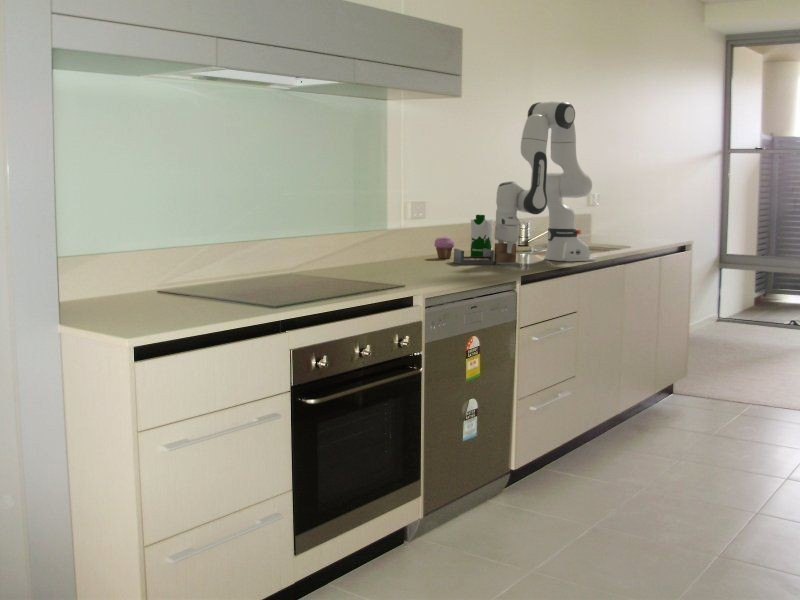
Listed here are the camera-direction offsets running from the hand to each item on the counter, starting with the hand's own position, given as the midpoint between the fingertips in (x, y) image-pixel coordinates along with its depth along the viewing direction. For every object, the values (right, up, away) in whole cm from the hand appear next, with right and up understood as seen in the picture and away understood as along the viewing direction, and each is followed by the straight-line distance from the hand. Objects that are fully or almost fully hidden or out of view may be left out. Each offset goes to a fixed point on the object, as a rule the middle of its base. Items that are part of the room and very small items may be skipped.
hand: (505, 252), depth 380 cm
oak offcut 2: (-10, -6, -4) cm, 12 cm away
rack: (-14, -5, -2) cm, 15 cm away
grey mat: (0, -5, +1) cm, 5 cm away
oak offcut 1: (-16, -6, -5) cm, 18 cm away
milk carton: (-9, -3, +17) cm, 19 cm away
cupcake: (-26, -2, +18) cm, 32 cm away
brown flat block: (0, -4, +1) cm, 4 cm away
